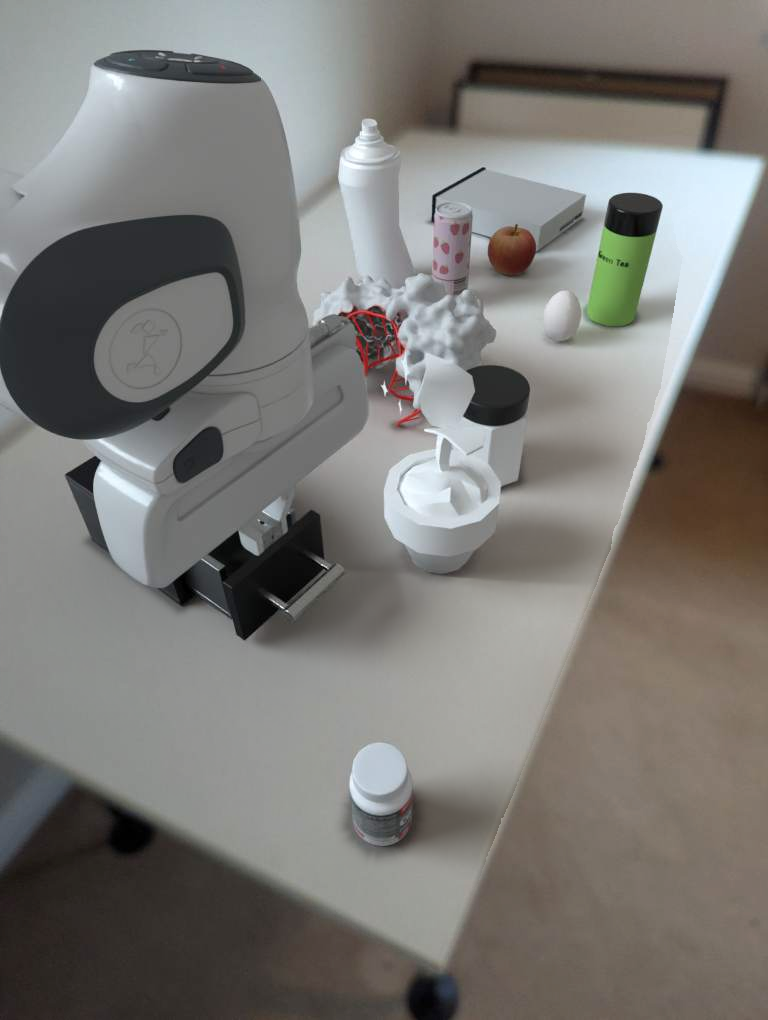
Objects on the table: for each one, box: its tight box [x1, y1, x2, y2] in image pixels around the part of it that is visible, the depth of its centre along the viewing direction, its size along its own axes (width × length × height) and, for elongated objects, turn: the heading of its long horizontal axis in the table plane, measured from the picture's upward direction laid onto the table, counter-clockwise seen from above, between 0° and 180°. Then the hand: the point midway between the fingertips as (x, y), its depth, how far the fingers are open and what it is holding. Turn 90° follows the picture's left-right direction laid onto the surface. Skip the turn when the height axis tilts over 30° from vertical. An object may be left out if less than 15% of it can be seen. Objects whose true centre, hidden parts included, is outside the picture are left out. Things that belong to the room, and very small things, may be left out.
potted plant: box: [380, 348, 502, 575], centre depth 69 cm, size 13×12×25 cm
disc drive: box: [430, 166, 587, 252], centre depth 137 cm, size 18×22×5 cm
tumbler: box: [586, 192, 664, 328], centre depth 107 cm, size 8×8×17 cm
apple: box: [487, 224, 537, 276], centre depth 121 cm, size 8×8×8 cm
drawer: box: [180, 506, 346, 641], centre depth 72 cm, size 18×12×8 cm, turn 52°
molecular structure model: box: [312, 272, 497, 427], centre depth 93 cm, size 20×18×25 cm
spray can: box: [337, 118, 417, 289], centre depth 112 cm, size 12×11×25 cm
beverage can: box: [431, 202, 473, 296], centre depth 111 cm, size 6×6×15 cm
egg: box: [542, 289, 582, 342], centre depth 106 cm, size 5×5×8 cm
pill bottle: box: [348, 742, 414, 847], centre depth 56 cm, size 5×5×8 cm
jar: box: [451, 364, 531, 487], centre depth 84 cm, size 9×8×12 cm
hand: (265, 540), depth 52 cm, fingers closed
